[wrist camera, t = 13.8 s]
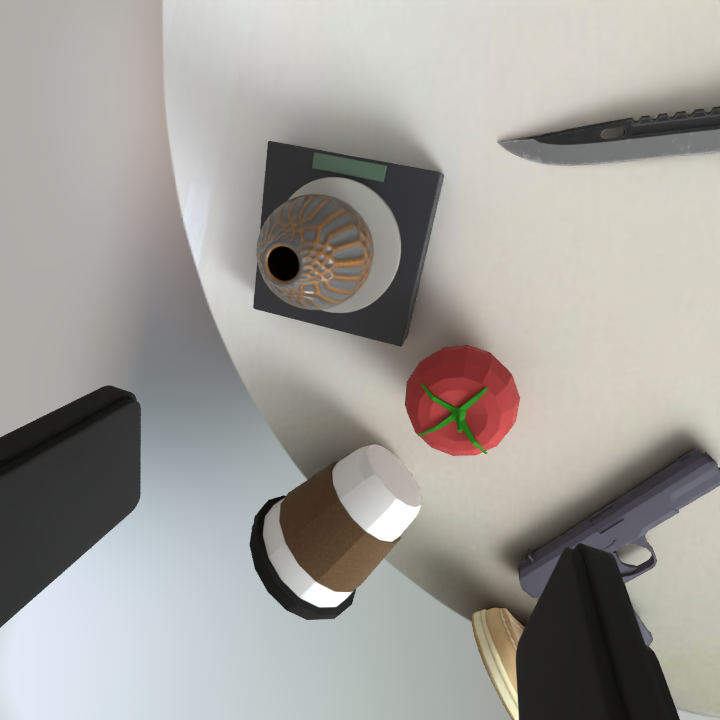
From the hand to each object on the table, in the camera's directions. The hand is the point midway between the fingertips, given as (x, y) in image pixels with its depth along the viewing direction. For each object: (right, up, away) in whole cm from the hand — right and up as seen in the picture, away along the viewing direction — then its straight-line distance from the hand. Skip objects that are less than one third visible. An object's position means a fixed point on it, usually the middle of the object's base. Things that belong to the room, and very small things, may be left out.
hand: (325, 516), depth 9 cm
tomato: (+9, +2, +26) cm, 27 cm away
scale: (0, +12, +25) cm, 27 cm away
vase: (-1, +11, +22) cm, 25 cm away
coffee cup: (+4, -6, +26) cm, 26 cm away
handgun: (+28, -17, +26) cm, 41 cm away
